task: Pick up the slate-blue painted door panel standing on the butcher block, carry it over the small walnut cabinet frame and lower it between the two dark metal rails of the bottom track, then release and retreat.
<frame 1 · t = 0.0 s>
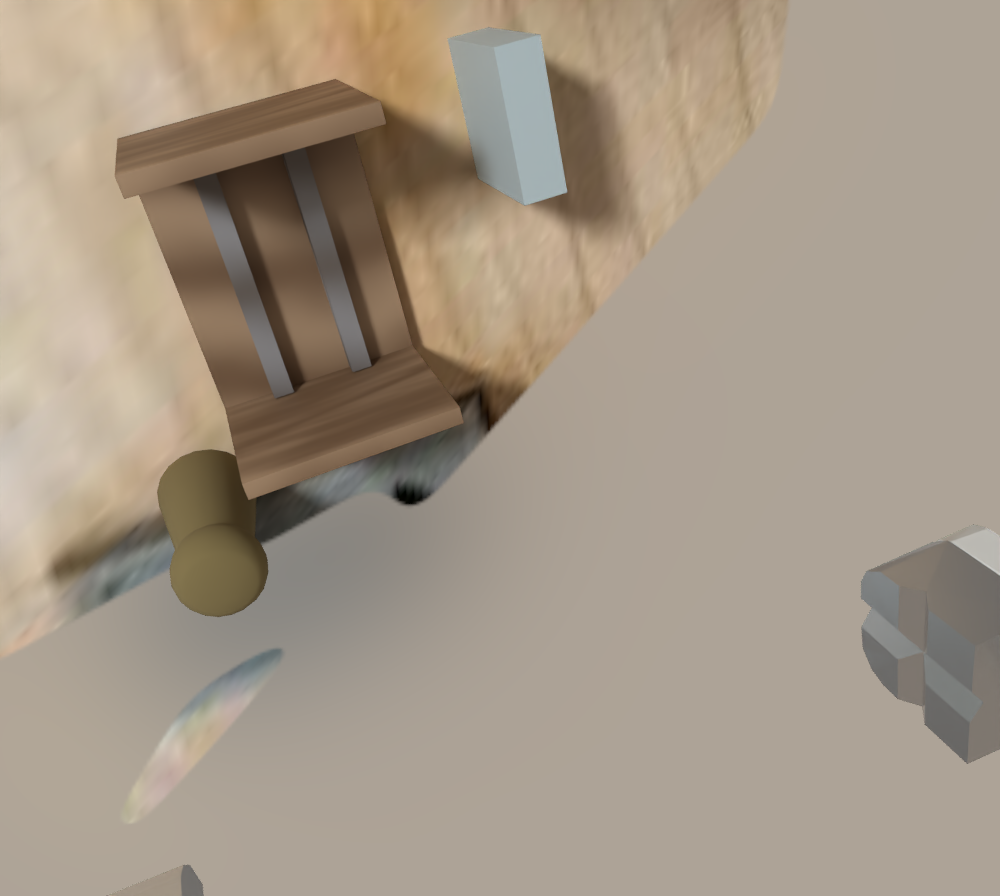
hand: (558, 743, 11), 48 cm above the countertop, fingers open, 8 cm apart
cork: (207, 491, 60), on the countertop
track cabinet: (279, 257, 55), on the countertop
door panel: (483, 105, 55), on the countertop
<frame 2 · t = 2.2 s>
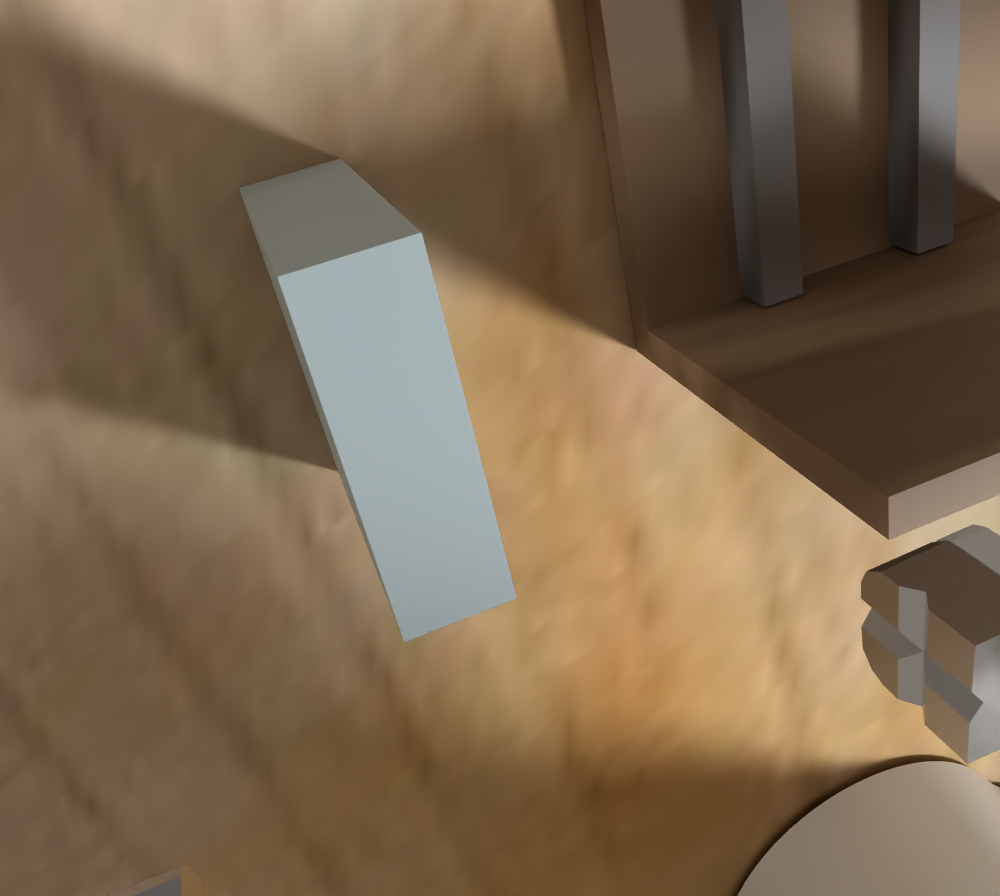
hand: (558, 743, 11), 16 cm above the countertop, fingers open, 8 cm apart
door panel: (338, 325, 24), on the countertop
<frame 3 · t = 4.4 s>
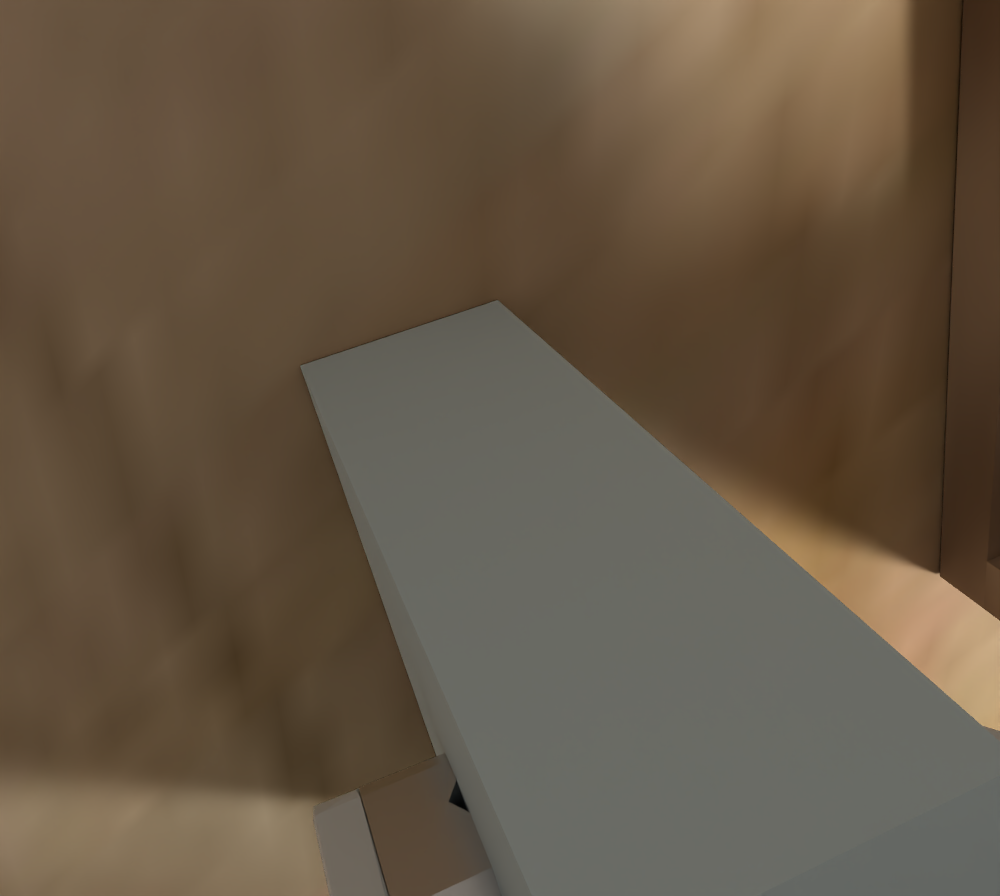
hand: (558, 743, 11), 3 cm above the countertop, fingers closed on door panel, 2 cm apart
door panel: (473, 589, 13), on the countertop, touching gripper
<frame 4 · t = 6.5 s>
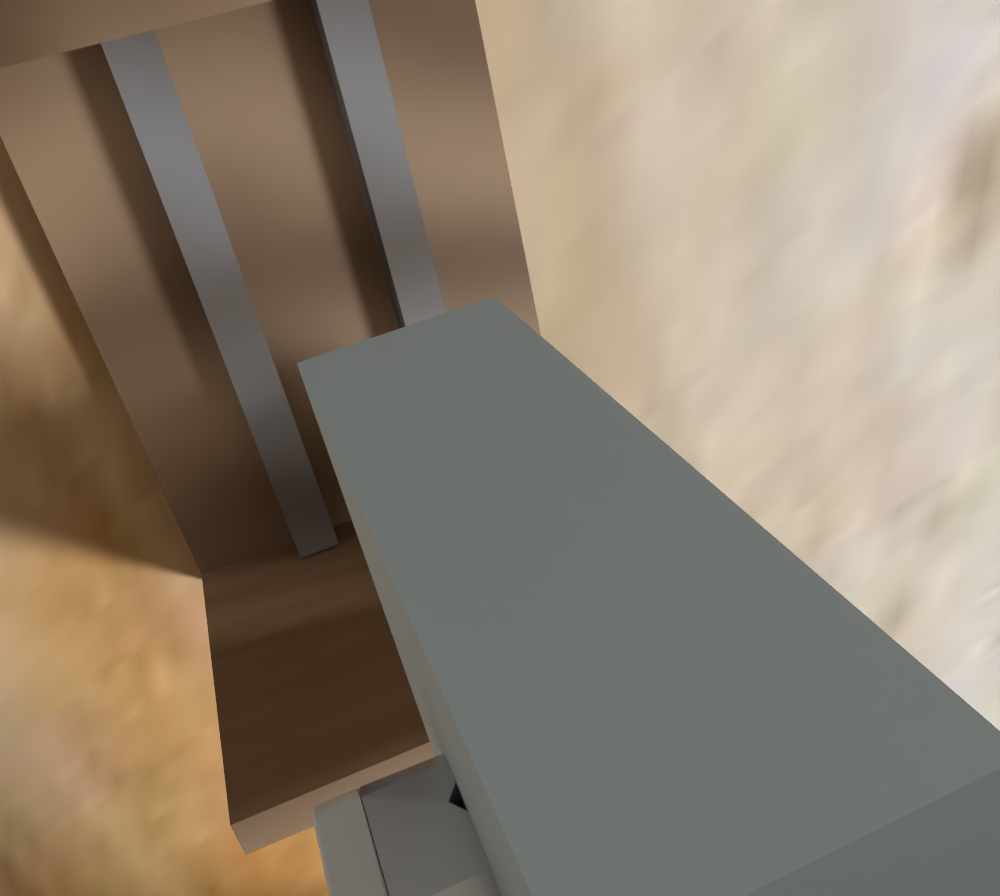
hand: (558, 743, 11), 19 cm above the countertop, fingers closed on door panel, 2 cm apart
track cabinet: (312, 276, 27), on the countertop
door panel: (471, 587, 13), point 16 cm above the countertop, touching gripper
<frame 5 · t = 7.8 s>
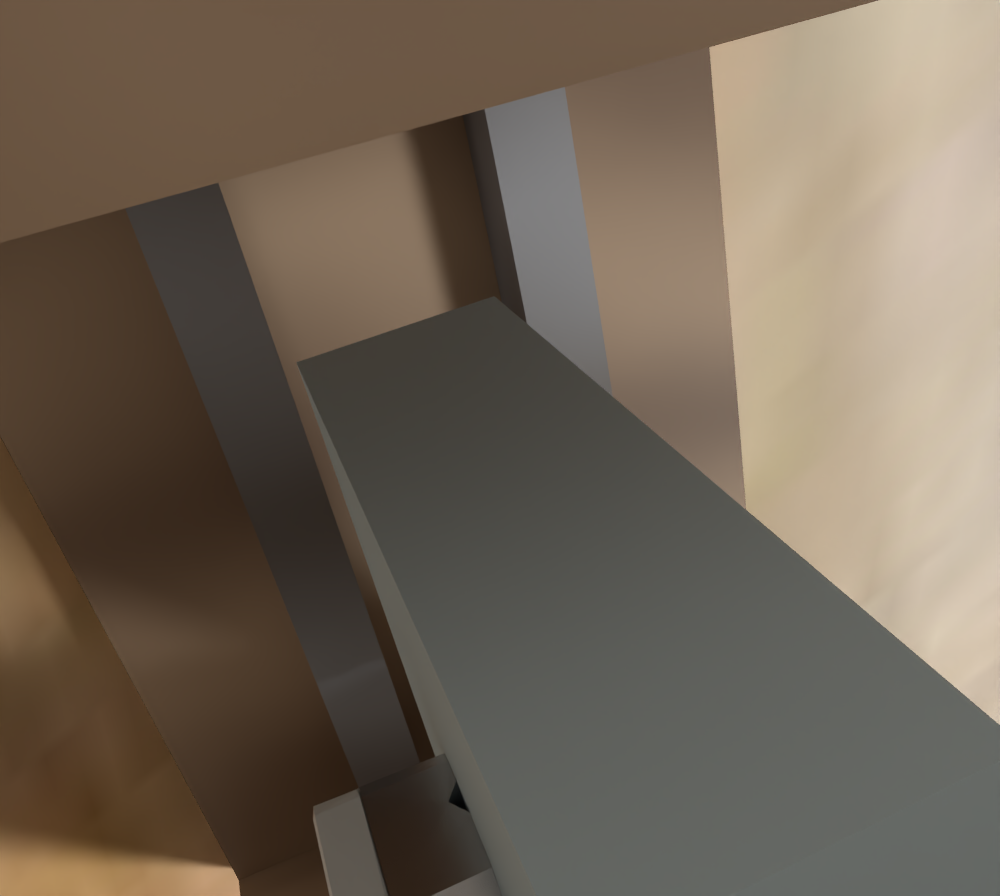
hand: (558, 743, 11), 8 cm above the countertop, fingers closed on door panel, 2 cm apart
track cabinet: (418, 447, 17), on the countertop
door panel: (471, 587, 13), point 5 cm above the countertop, touching gripper
when the fingers open (5 cm above the countertop, at t = 8.9 s): door panel stays where it is, resting on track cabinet.
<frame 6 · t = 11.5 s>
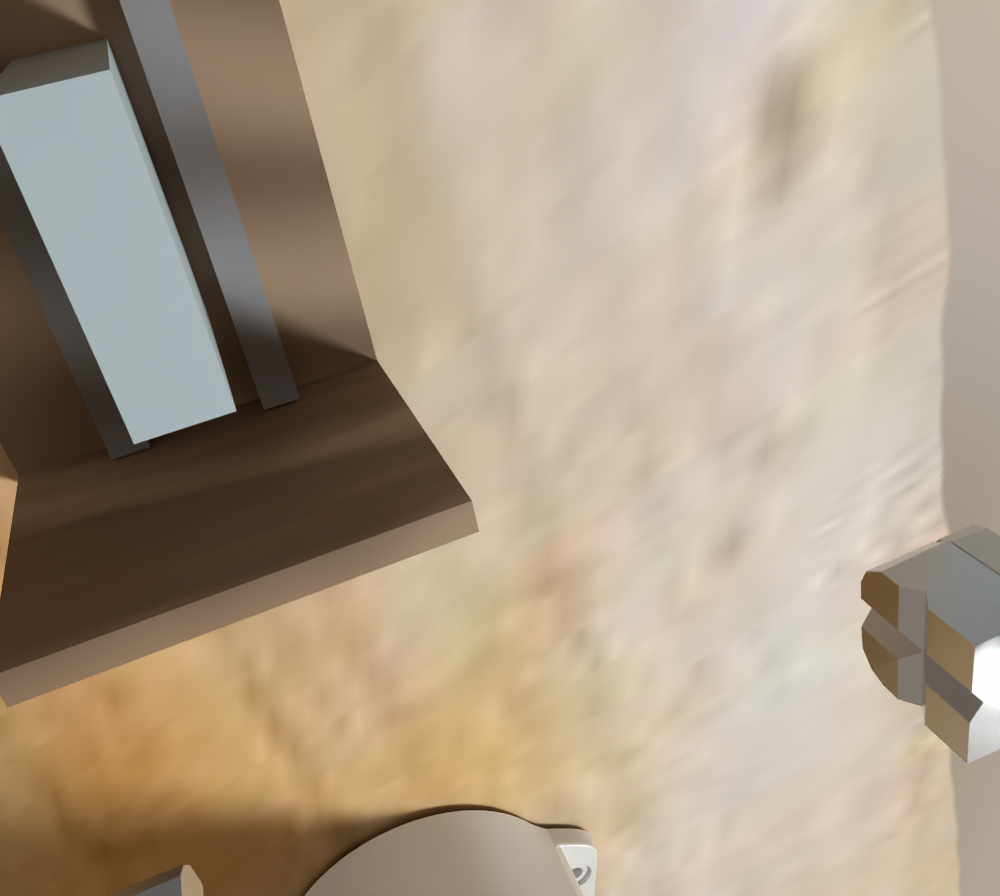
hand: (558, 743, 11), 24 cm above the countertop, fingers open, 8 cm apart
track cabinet: (118, 187, 28), on the countertop
door panel: (117, 194, 27), point 1 cm above the countertop, touching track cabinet
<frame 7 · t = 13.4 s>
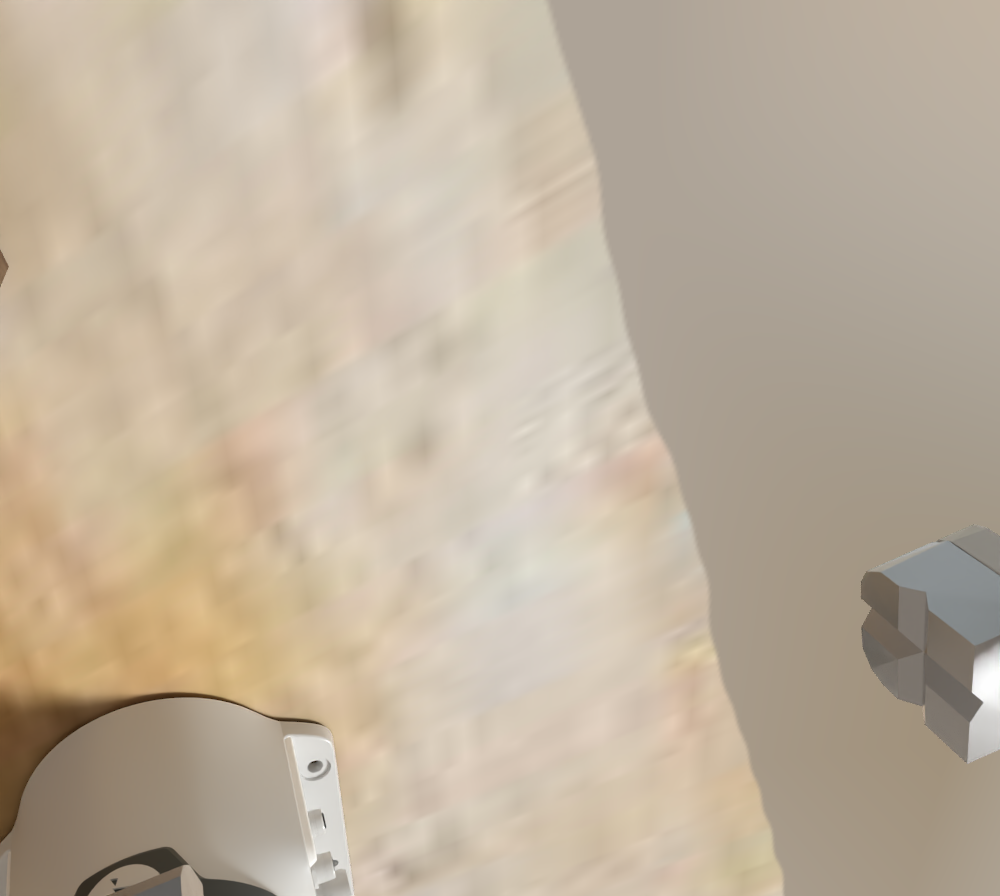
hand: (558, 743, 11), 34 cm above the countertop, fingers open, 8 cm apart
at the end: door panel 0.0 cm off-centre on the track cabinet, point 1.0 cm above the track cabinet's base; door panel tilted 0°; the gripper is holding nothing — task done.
